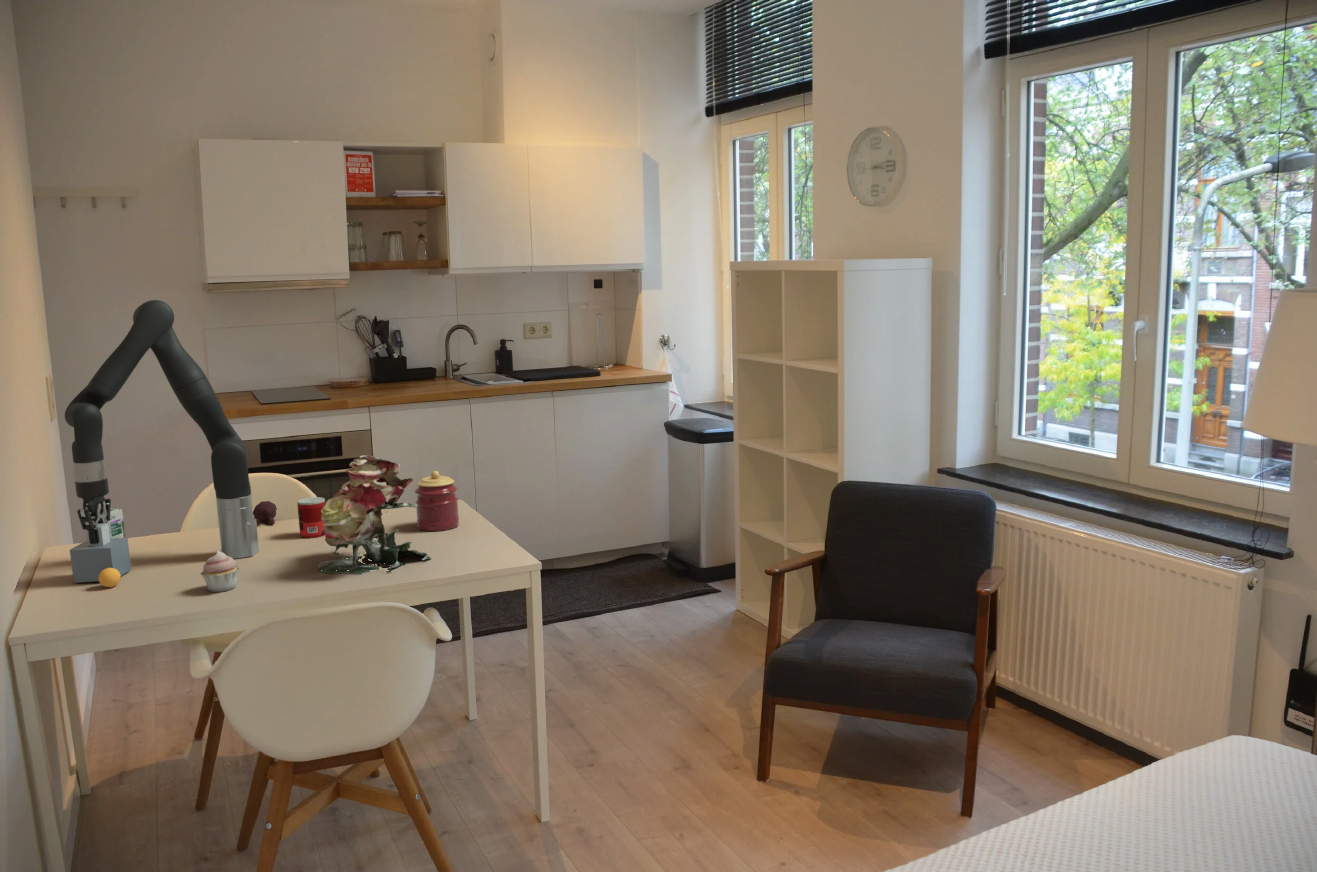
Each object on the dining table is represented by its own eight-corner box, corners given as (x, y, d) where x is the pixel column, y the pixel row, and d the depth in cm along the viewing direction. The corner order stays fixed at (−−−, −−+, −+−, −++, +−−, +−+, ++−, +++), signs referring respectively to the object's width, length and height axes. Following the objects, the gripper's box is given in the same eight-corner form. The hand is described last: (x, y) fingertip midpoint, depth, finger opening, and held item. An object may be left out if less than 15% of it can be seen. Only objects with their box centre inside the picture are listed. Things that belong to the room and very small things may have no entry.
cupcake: (214, 582, 262) (210, 545, 260) (248, 583, 261) (244, 545, 259) (194, 594, 253) (190, 555, 251) (229, 594, 252) (225, 555, 250)
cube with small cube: (131, 569, 274) (125, 519, 272) (114, 580, 264) (107, 529, 262) (92, 570, 273) (86, 521, 271) (73, 582, 263) (67, 531, 261)
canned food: (332, 533, 309) (330, 498, 307) (311, 539, 302) (308, 503, 300) (316, 530, 313) (313, 495, 311) (294, 536, 306) (291, 501, 304)
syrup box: (114, 563, 282) (108, 513, 279) (96, 562, 283) (89, 512, 281) (128, 557, 287) (123, 508, 285) (110, 557, 289) (104, 507, 286)
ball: (124, 583, 263) (122, 564, 262) (116, 589, 258) (114, 570, 257) (105, 584, 263) (102, 565, 262) (96, 590, 258) (93, 571, 257)
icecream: (245, 500, 329) (255, 512, 317) (267, 491, 332) (278, 503, 320) (252, 518, 332) (262, 532, 319) (274, 510, 335) (285, 523, 323)
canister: (426, 521, 321) (422, 466, 318) (465, 521, 320) (462, 466, 317) (410, 531, 309) (406, 475, 306) (451, 532, 307) (448, 475, 304)
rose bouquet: (360, 546, 293) (352, 445, 288) (440, 556, 281) (434, 450, 276) (293, 570, 271) (283, 461, 266) (377, 583, 258) (369, 468, 253)
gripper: (92, 482, 258) (101, 547, 260) (117, 471, 272) (125, 533, 274) (62, 484, 257) (70, 549, 260) (88, 473, 271) (96, 535, 274)
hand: (98, 540), depth 267 cm, fingers closed on cube with small cube, 4 cm apart
